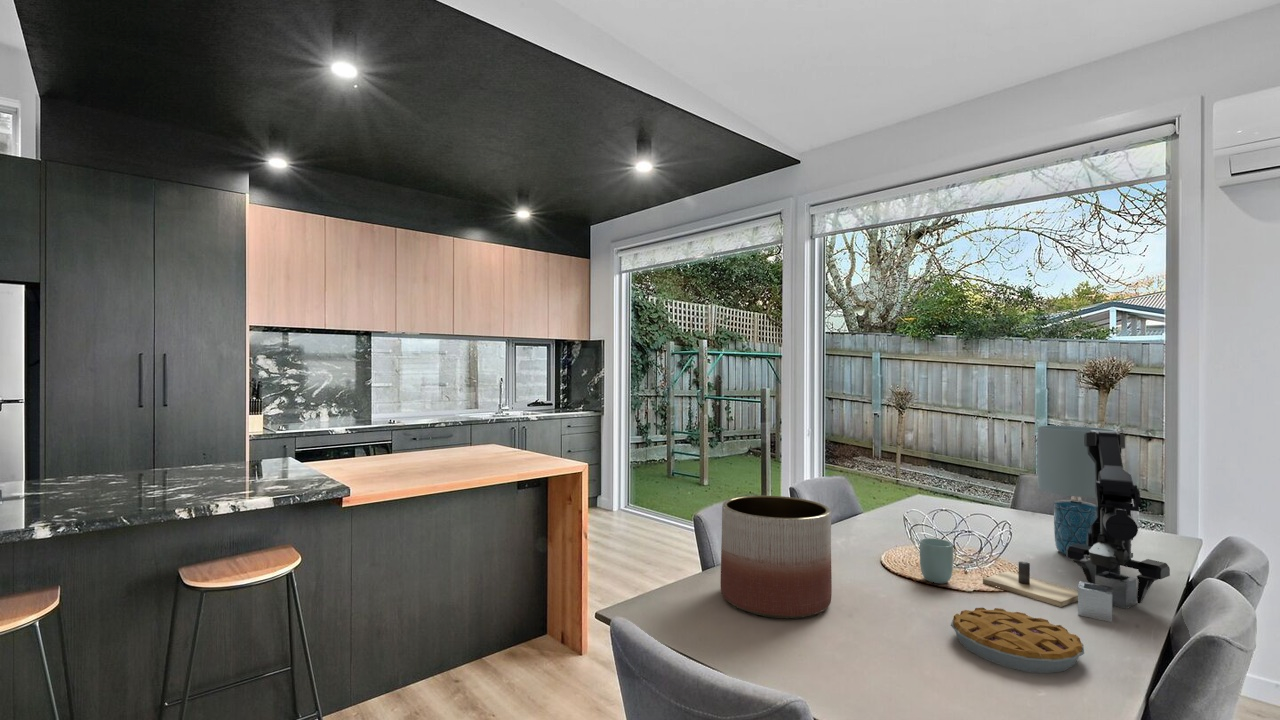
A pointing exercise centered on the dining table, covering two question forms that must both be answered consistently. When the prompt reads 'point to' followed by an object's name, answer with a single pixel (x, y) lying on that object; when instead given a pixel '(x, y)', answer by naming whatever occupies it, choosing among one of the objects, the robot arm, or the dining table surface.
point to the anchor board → (1033, 586)
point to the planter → (776, 556)
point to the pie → (1017, 640)
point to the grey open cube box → (1095, 601)
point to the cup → (936, 559)
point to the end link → (1119, 588)
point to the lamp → (1068, 481)
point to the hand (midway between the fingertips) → (1115, 596)
